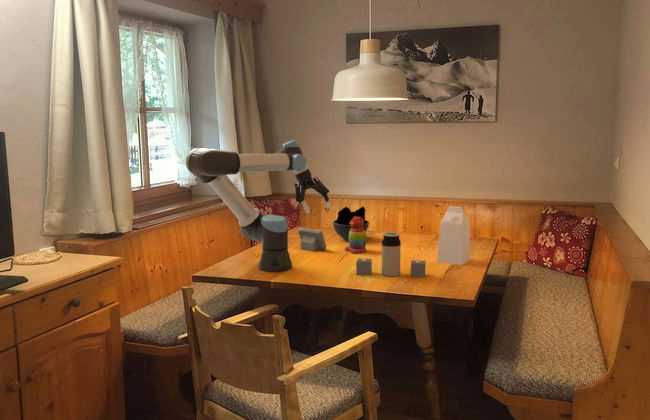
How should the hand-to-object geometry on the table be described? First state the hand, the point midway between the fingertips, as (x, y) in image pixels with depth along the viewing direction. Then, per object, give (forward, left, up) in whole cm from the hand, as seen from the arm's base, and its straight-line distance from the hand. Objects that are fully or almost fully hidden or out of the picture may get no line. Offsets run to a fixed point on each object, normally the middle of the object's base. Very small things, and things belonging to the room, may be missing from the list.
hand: (318, 210), depth 289 cm
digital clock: (+7, +11, -22) cm, 26 cm away
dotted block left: (-14, -39, -22) cm, 47 cm away
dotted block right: (-2, -59, -22) cm, 63 cm away
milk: (+31, -58, -22) cm, 70 cm away
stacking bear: (+18, -10, -22) cm, 30 cm away
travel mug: (-8, -49, -22) cm, 55 cm away
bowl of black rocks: (+38, +10, -22) cm, 45 cm away
